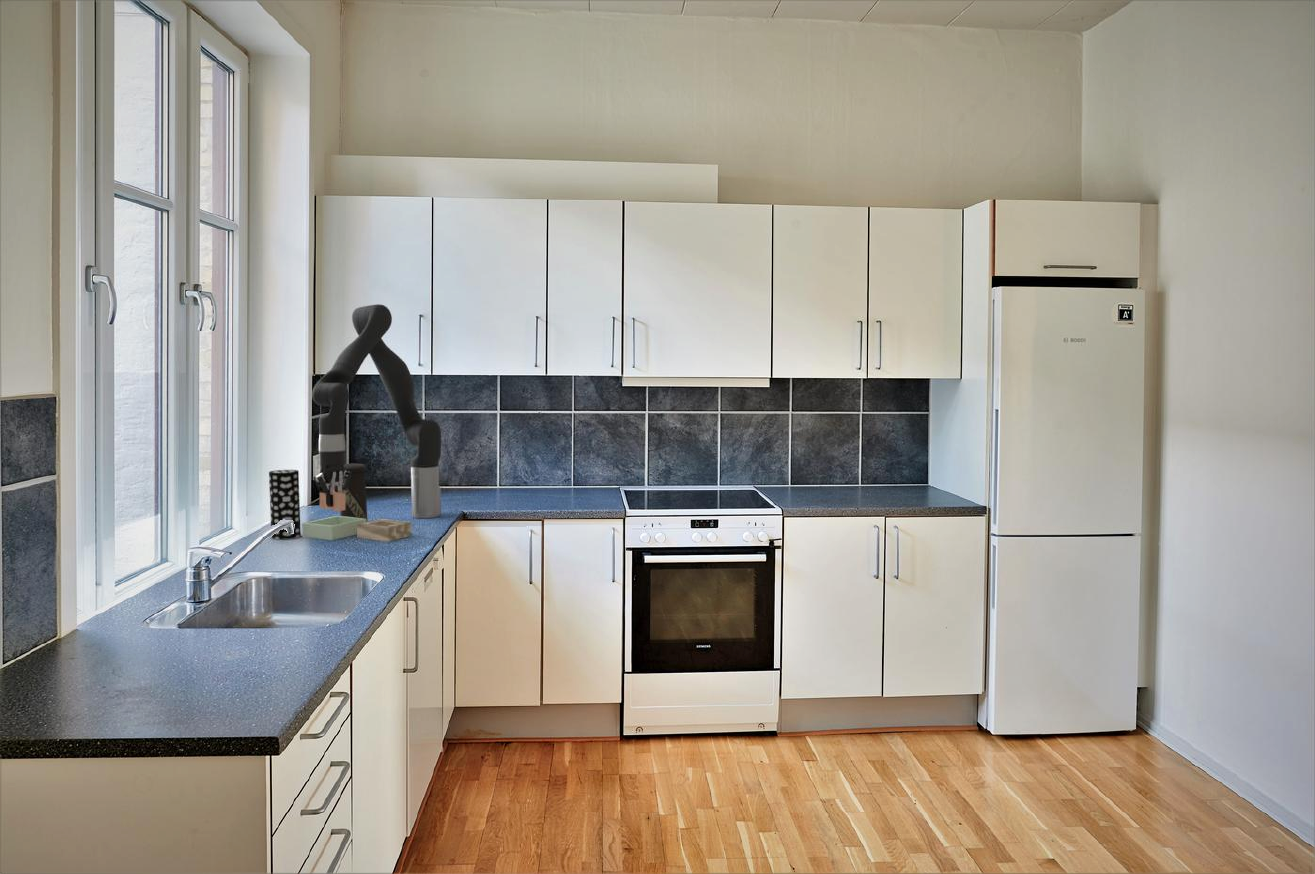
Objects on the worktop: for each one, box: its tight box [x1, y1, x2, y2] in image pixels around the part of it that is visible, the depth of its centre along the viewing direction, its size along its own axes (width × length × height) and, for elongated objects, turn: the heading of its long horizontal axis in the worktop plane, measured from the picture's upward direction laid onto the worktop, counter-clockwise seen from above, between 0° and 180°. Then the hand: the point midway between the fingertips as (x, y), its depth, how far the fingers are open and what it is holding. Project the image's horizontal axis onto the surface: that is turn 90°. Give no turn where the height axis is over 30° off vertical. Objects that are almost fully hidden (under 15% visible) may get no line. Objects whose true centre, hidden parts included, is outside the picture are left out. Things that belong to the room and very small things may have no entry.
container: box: [340, 462, 368, 522], centre depth 298 cm, size 9×9×20 cm
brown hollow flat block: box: [356, 518, 413, 542], centre depth 275 cm, size 10×12×5 cm
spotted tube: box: [268, 469, 302, 540], centre depth 278 cm, size 8×8×20 cm
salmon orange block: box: [319, 491, 346, 512], centre depth 278 cm, size 2×5×8 cm
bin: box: [301, 515, 366, 541], centre depth 278 cm, size 14×12×5 cm
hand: (333, 505), depth 278 cm, fingers closed on salmon orange block, 2 cm apart
